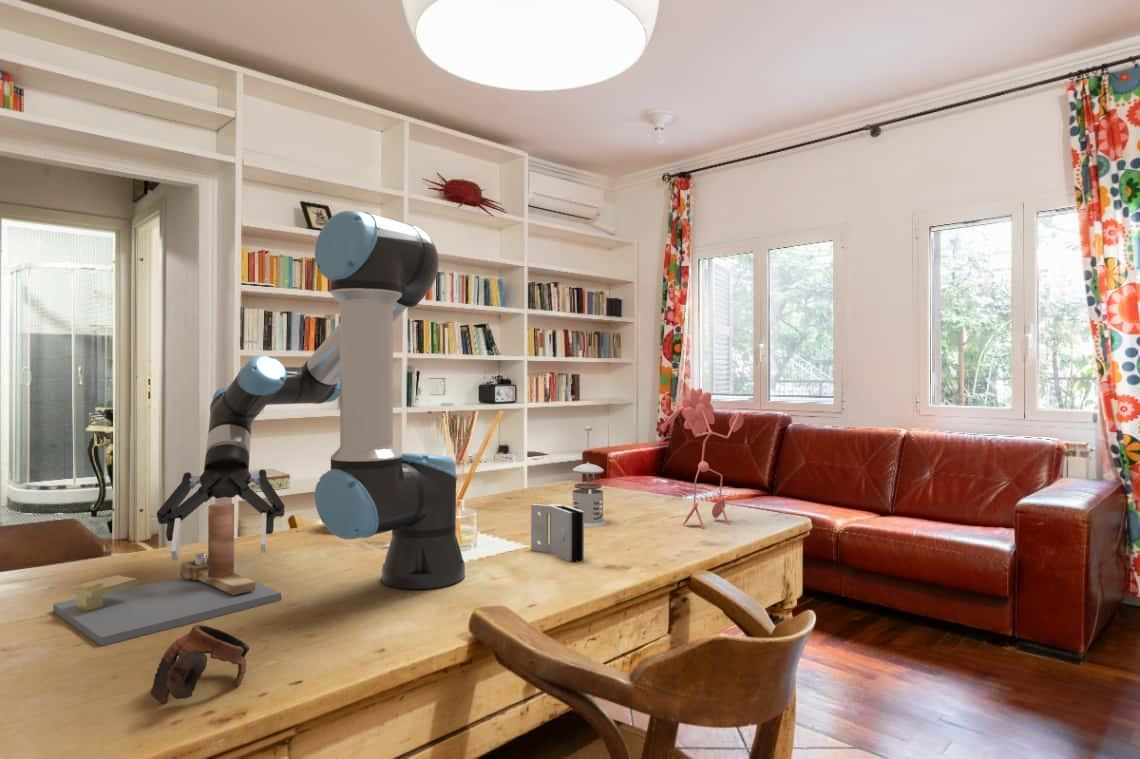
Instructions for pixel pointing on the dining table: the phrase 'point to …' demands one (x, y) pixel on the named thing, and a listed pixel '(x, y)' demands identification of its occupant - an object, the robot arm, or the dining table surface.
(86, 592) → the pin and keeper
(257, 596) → the charcoal board
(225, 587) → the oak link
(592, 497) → the french press
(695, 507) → the pink stick figure
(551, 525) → the hinge
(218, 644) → the brown curved piece
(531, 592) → the dining table surface
